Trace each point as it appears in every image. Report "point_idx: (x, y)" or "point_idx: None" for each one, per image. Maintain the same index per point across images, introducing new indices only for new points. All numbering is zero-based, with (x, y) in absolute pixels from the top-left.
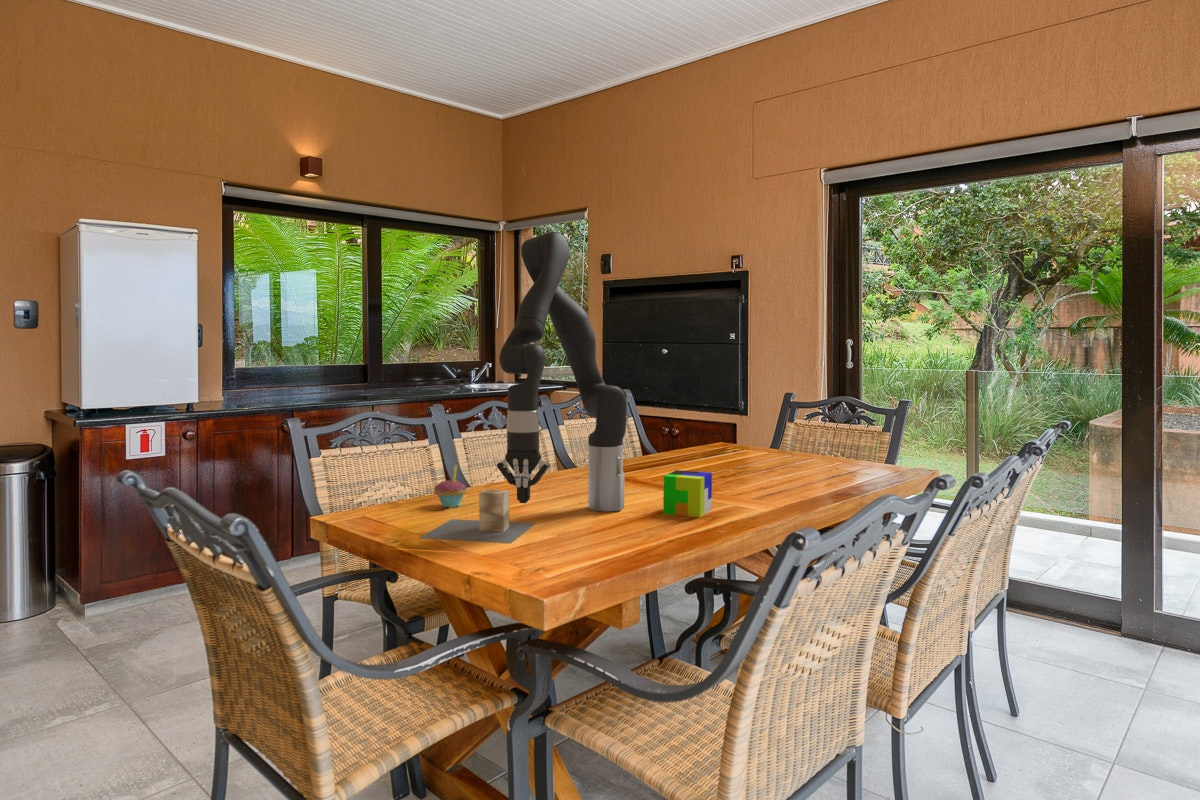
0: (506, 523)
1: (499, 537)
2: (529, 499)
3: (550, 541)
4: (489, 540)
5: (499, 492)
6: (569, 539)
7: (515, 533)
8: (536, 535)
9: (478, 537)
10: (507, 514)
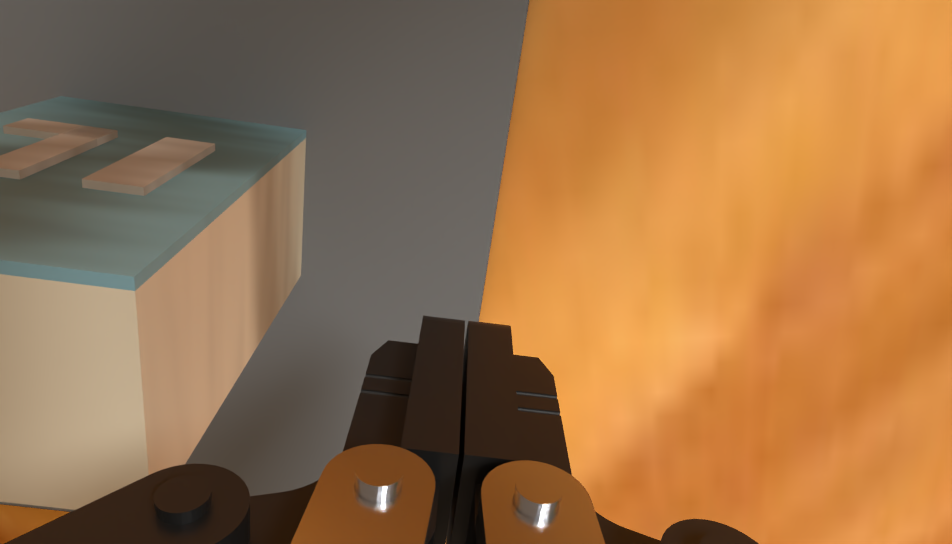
0: (288, 224)
1: (322, 435)
2: (540, 362)
3: (703, 463)
4: None
5: (43, 431)
6: (846, 410)
7: (414, 321)
8: (588, 321)
9: None
10: (264, 221)
